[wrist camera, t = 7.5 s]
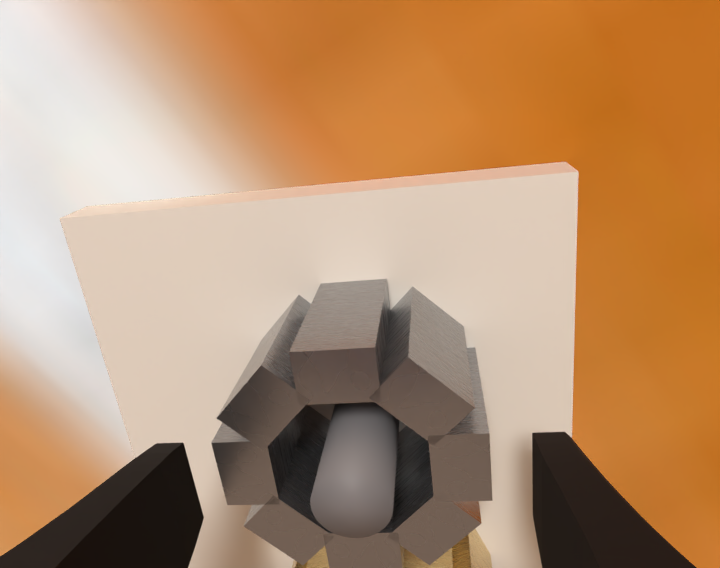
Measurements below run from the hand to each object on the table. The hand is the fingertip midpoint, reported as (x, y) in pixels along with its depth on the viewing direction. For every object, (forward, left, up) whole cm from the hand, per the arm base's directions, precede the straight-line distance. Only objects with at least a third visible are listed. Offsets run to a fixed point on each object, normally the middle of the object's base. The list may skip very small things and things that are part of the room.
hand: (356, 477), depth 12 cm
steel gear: (0, 0, -3) cm, 3 cm away
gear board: (-1, -3, -4) cm, 5 cm away
